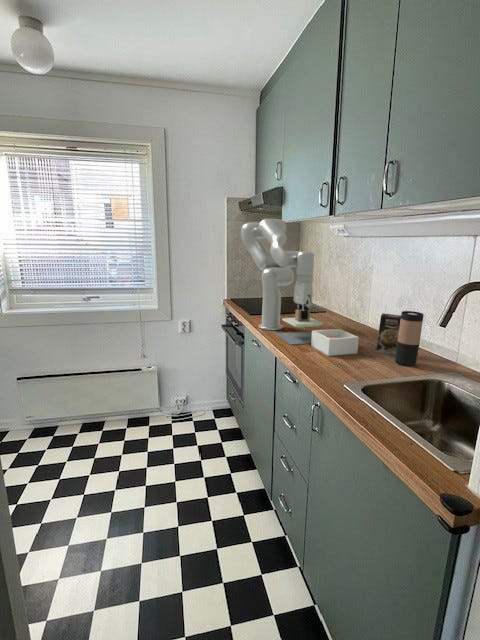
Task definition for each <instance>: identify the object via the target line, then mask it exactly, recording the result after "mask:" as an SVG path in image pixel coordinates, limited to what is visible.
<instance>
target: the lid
mask: <svg viewBox="0 0 480 640" xmlns="http://www.w3.org/2000/svg"><path fill="white" fill-rule="evenodd" d="M301 311H302V309H300V310H298V309H295V313H294V314H295V316H294V317H285V318H284V317H283V318H282V319H281V320H282V321H283V322H285V323H287V324H289V325H291V326H293V327H295V328H308V327H319V326H323V325H324V322H323V321H321V320H320V321H319V320H317V319H315V318H312V317H311V310H310V309H309V311H308V319H303V320H302V319H301Z"/></svg>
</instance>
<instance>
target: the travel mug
mask: <svg viewBox="0 0 480 640" xmlns="http://www.w3.org/2000/svg"><path fill="white" fill-rule="evenodd" d="M400 316H401V320H400V327H399V334H398V341H397V350H396V355H395V364H398V365H399V366H403V367H415V366H416V364H417V360H418V355H419V349H420V344H421V343H420V342H421V337H422V336H421V335H422V330H423V329H422V327H423V322H424V316H425V315H424V313H423V312H419V311H411V310H403V311H401V314H400Z"/></svg>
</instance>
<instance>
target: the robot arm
mask: <svg viewBox="0 0 480 640" xmlns="http://www.w3.org/2000/svg"><path fill="white" fill-rule="evenodd" d="M286 232H287V225H286V223H285V221H284V220H282V219H280V218H279V219H278V218H264V219H262V220H261V221H260V222H254V221H253V222H247V223H244V224H243V225H242V227H241V230H240V237H241V241H242V243H243V246H245V248H246V249H247V251H248V252H249V254H250V255H251V258H253V261H254V263H255V265H256V266H257V268H258V269H259V270H260V271H262V273H261V284H262V285H261V286H262V304H261V305H262V309H261V323H259V324H258V328H259V329H261V330H264V331H280V330H282V329H283V327H284V326H283V325H282V324H280V322H281V307H282V306H281V305H282V293H281V291H280V288H279V287H281V286H283V287H284V286H289V285H291V284H293V282H294V280H295V284H294V289H293V291H294V292H293V302H294V303H295V304H296V306H297V308H296V310H300V309H302V311H301V319H302V320H303V319H308V311H309V310H310V309H311V308H312V304H313V297H314V296H313V294H314V293H313V281H314V266H315V265H314V263H315V254H314V252H312V251H302V250H284V248H283V246H285V244H286V242H287V235H286ZM260 240H266V241H267V242H268V244H270V251H269V250H268V249H267V248H266V246H265V245H264V243H262V241H260ZM292 268H296V271H295V272H296V276H295V274H294V272H293V270H292Z"/></svg>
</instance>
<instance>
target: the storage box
mask: <svg viewBox="0 0 480 640" xmlns="http://www.w3.org/2000/svg"><path fill="white" fill-rule="evenodd" d="M311 333H312V338H311V344H310V346H311V348H313V349H315V350H317V351H319V352H321V353H322V354H324V355H326V356H328V357H331V356H332V357H333V356H343V355H355V354H358V348H359V340H360V337H359V336H357V335H355V334H352V333H350V332H347V331H346V330H343V329H341V328H331V329H317V330H312V331H311Z"/></svg>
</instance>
